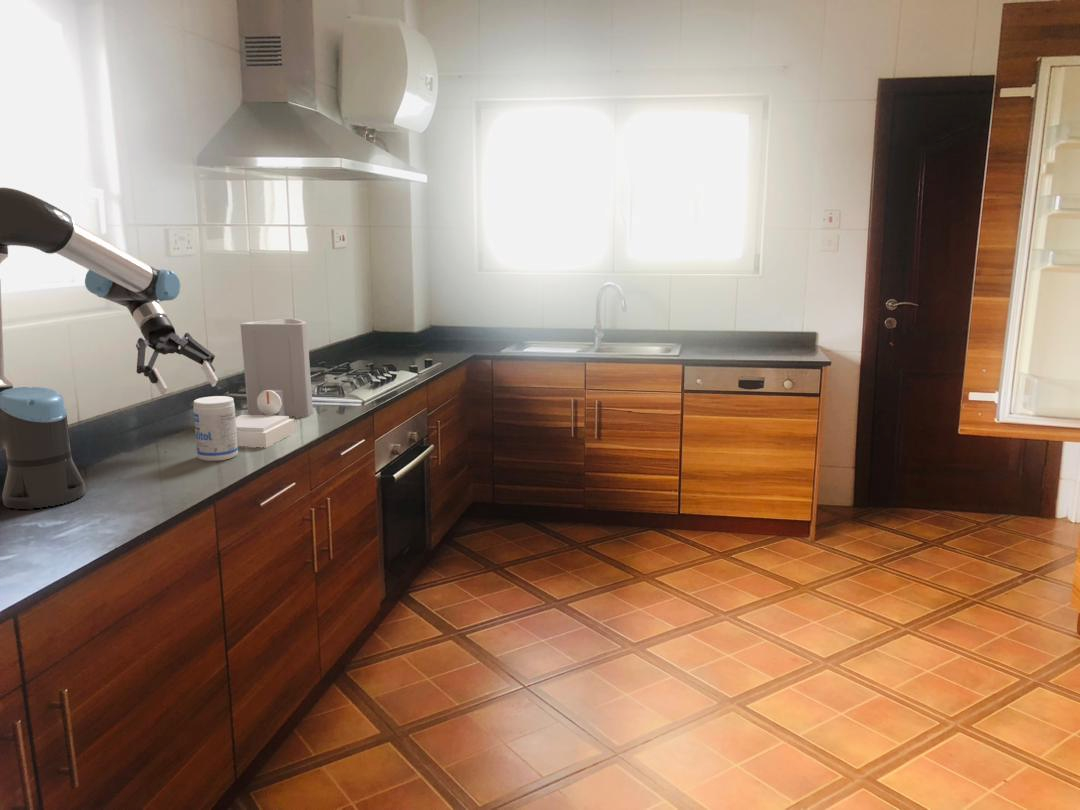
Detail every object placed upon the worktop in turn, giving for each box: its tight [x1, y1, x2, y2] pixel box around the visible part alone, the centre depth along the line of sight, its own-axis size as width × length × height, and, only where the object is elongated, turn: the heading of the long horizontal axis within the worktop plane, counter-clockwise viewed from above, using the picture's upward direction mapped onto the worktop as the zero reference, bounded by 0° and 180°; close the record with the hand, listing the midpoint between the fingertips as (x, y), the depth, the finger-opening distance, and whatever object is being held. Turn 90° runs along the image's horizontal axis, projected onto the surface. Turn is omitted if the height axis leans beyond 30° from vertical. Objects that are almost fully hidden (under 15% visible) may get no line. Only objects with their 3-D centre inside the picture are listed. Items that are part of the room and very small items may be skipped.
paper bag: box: [239, 318, 314, 418], centre depth 256 cm, size 19×15×28 cm
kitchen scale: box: [235, 390, 296, 449], centre depth 226 cm, size 21×16×12 cm
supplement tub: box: [192, 395, 239, 462], centre depth 207 cm, size 10×10×15 cm
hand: (190, 387), depth 211 cm, fingers open, 13 cm apart
